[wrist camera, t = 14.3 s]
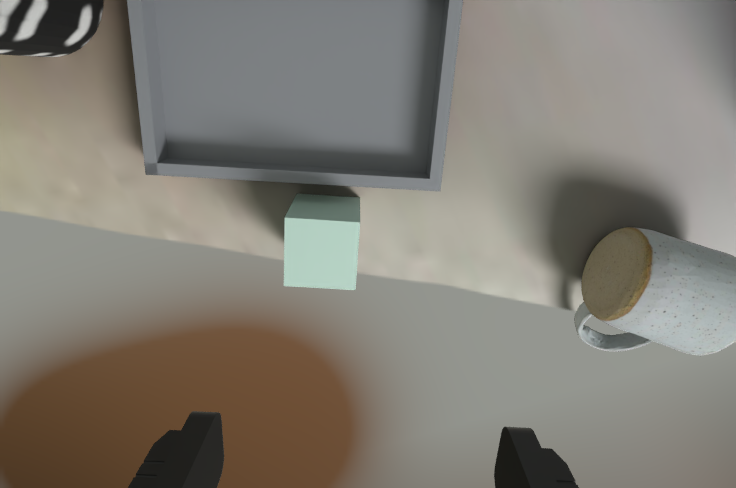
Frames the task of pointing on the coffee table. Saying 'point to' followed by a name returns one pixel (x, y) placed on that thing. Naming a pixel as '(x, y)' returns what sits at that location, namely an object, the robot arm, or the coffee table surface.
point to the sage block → (322, 241)
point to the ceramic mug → (658, 293)
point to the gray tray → (296, 89)
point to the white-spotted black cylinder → (47, 26)
